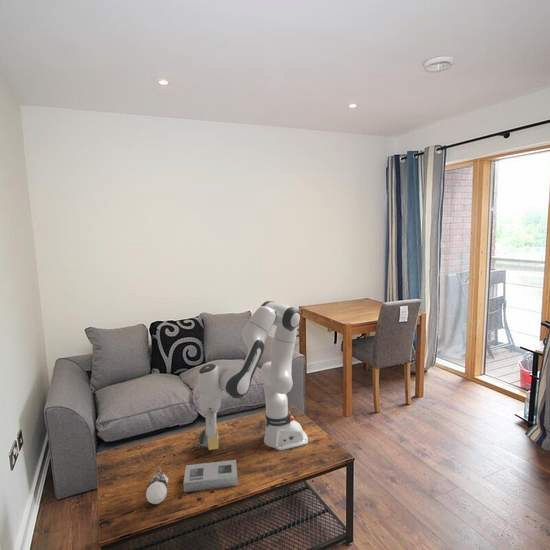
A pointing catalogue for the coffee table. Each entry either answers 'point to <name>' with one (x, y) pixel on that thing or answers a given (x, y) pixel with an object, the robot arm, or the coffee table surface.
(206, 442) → the ceramic mug
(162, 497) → the geometric ball
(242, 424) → the coffee table surface
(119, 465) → the coffee table surface
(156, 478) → the house of cards
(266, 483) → the coffee table surface
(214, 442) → the plug
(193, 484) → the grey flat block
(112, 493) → the coffee table surface
